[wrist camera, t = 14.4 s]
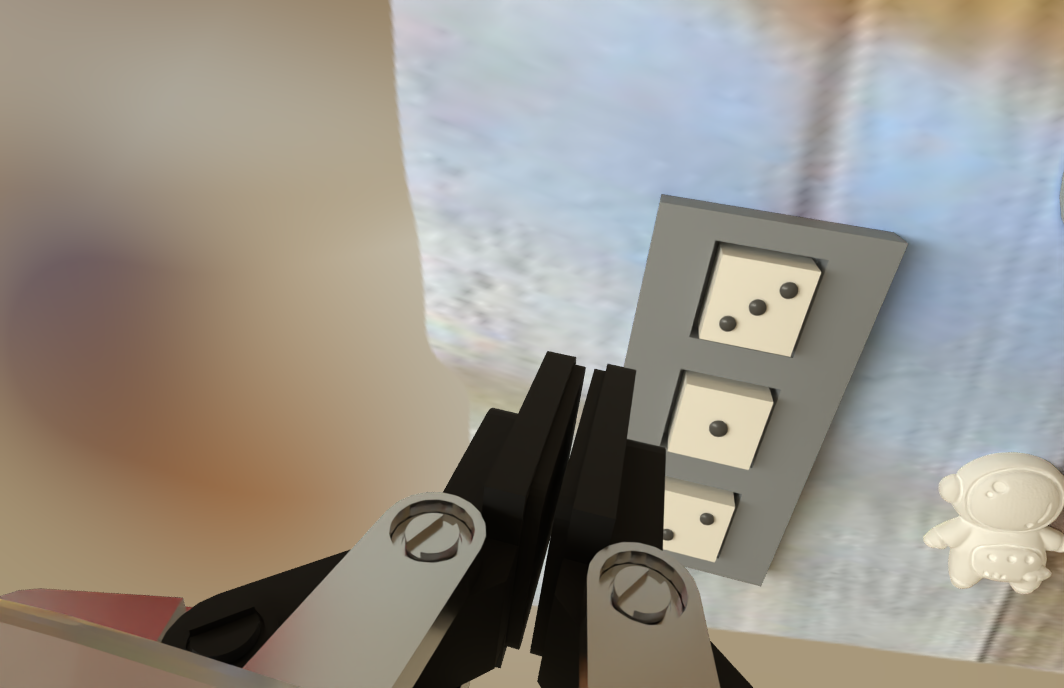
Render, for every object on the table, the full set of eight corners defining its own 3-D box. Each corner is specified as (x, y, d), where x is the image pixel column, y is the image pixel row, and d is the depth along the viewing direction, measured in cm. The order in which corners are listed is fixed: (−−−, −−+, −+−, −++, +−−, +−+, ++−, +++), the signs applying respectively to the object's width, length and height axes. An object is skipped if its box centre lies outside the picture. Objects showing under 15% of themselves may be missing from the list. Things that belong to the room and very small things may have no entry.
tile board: (893, 232, 35) (908, 243, 32) (757, 562, 47) (760, 586, 45) (661, 194, 37) (660, 202, 35) (590, 520, 49) (586, 540, 47)
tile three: (810, 257, 36) (822, 273, 33) (782, 336, 38) (790, 358, 36) (719, 241, 37) (722, 255, 34) (697, 320, 39) (699, 339, 36)
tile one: (767, 380, 40) (773, 404, 37) (744, 445, 42) (749, 471, 40) (685, 363, 41) (686, 385, 38) (668, 427, 43) (667, 453, 40)
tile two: (731, 480, 44) (735, 509, 41) (712, 534, 46) (714, 564, 44) (658, 463, 45) (657, 490, 42) (643, 517, 47) (641, 545, 45)
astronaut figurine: (909, 571, 45) (924, 602, 42) (947, 443, 40) (966, 470, 37) (1040, 587, 43) (1064, 621, 40) (1097, 455, 38) (1129, 484, 35)
